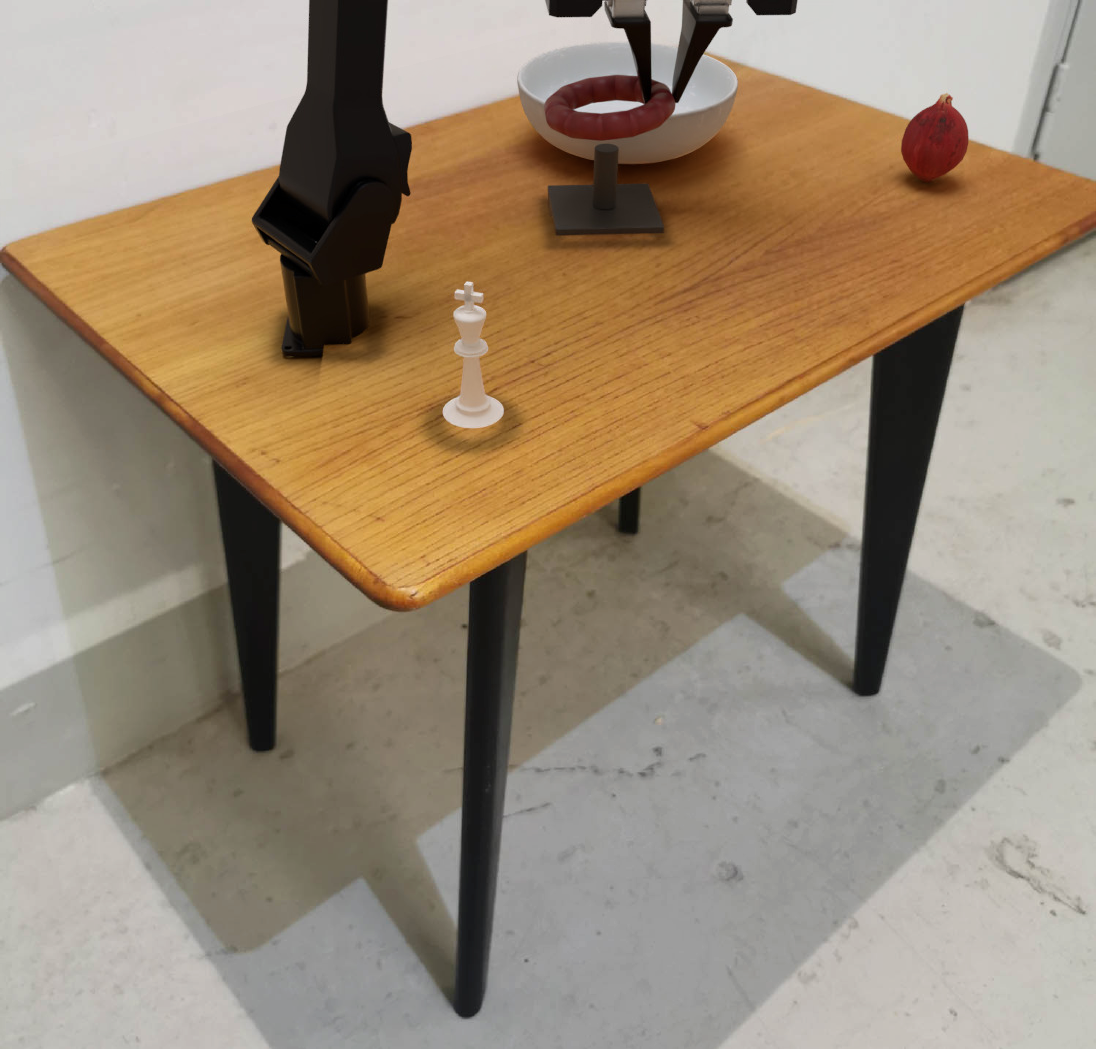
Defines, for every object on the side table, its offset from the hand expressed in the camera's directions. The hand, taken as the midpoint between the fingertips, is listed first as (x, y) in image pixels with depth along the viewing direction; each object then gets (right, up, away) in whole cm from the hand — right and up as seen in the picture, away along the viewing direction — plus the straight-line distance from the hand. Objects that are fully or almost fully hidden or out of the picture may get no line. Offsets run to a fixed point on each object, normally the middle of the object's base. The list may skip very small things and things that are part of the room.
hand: (660, 101), depth 91 cm
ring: (-4, 0, 0) cm, 4 cm away
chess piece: (-14, -28, -17) cm, 36 cm away
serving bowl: (-2, +3, +20) cm, 20 cm away
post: (-4, -8, +6) cm, 11 cm away
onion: (+26, -2, +14) cm, 30 cm away
